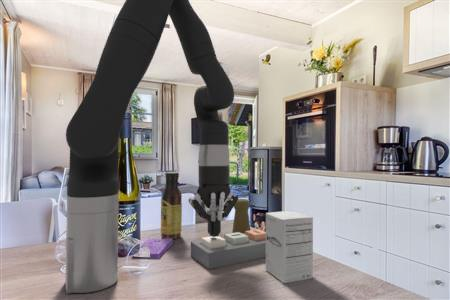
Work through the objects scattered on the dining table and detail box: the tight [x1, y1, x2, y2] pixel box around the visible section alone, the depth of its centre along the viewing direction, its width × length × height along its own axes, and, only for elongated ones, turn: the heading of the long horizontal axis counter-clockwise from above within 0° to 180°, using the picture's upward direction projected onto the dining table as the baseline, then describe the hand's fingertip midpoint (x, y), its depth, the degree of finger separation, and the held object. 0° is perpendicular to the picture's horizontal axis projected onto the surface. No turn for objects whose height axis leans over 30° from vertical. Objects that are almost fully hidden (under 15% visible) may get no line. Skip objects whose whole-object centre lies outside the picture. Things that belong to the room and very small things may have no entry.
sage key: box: [223, 232, 248, 245], centre depth 73 cm, size 4×4×2 cm
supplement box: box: [265, 210, 314, 284], centre depth 61 cm, size 7×7×13 cm
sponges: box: [137, 237, 173, 259], centre depth 77 cm, size 7×13×2 cm, turn 175°
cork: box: [231, 198, 251, 234], centre depth 93 cm, size 6×6×11 cm
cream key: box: [200, 235, 226, 249], centre depth 70 cm, size 4×4×2 cm
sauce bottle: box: [160, 171, 183, 240], centre depth 89 cm, size 7×6×20 cm
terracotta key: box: [245, 228, 266, 241], centre depth 76 cm, size 4×4×2 cm
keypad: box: [190, 233, 266, 270], centre depth 73 cm, size 20×10×4 cm, turn 120°
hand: (214, 235), depth 70 cm, fingers closed
